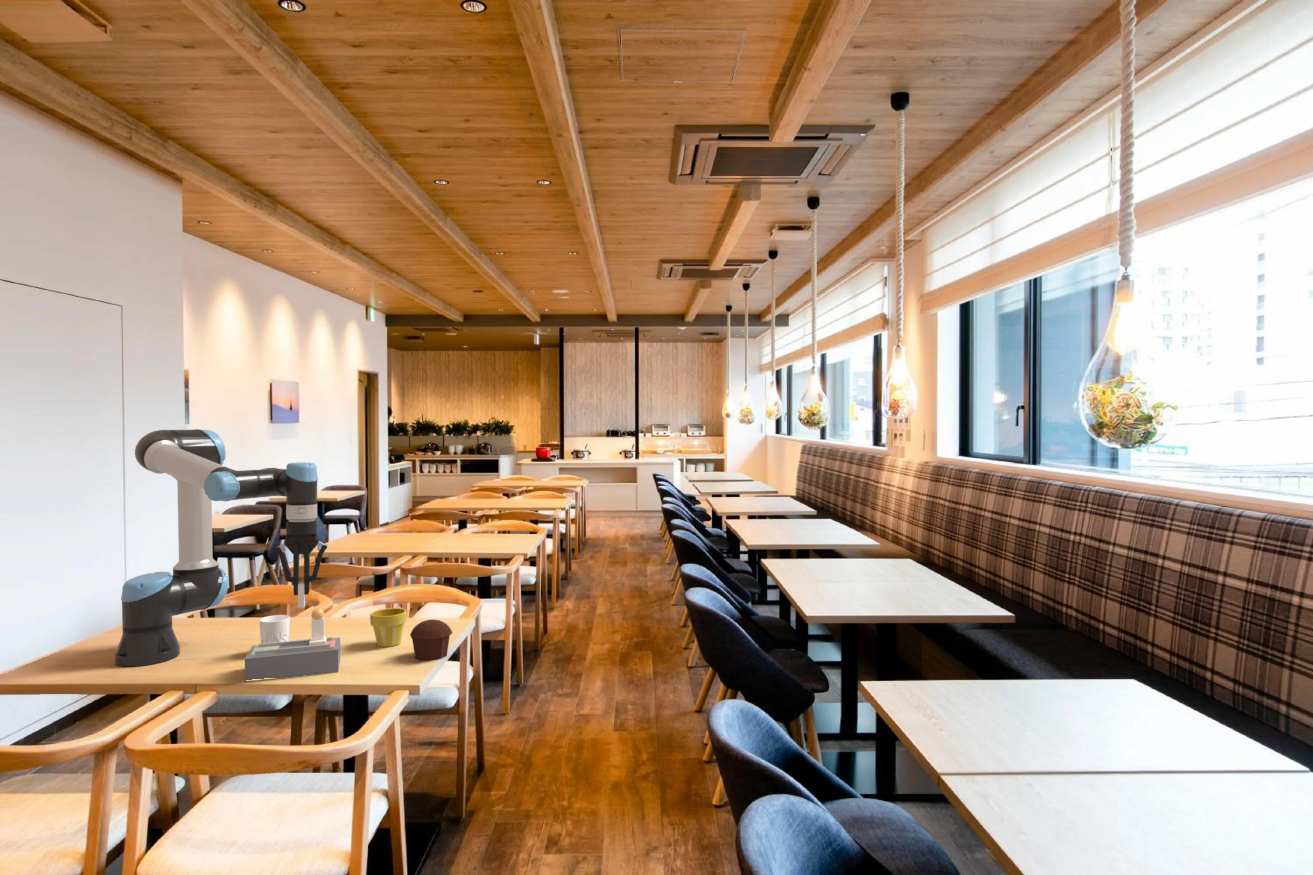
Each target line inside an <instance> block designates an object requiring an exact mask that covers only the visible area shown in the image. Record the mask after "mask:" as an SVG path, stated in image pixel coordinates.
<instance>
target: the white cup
mask: <svg viewBox="0 0 1313 875" xmlns="http://www.w3.org/2000/svg"><path fill="white" fill-rule="evenodd" d="M258 621H259V637H260V644H263V643H273V642H284V641H290V629H291V628H290V627H291V626H290V625H291V624H290V622H291V616H290V615H286V614H276V615H268V616H263V617H262V618H260V619H259V620H258Z"/></svg>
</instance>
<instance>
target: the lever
mask: <svg viewBox="0 0 1313 875" xmlns="http://www.w3.org/2000/svg"><path fill="white" fill-rule="evenodd" d="M309 639H310V642H309V646H310V645H320V644H326V642H327V635H325V612H324V610H323V609H322V608H318V607H317V608H315V609H313V610H312V612H311V637H310V638H309Z"/></svg>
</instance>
